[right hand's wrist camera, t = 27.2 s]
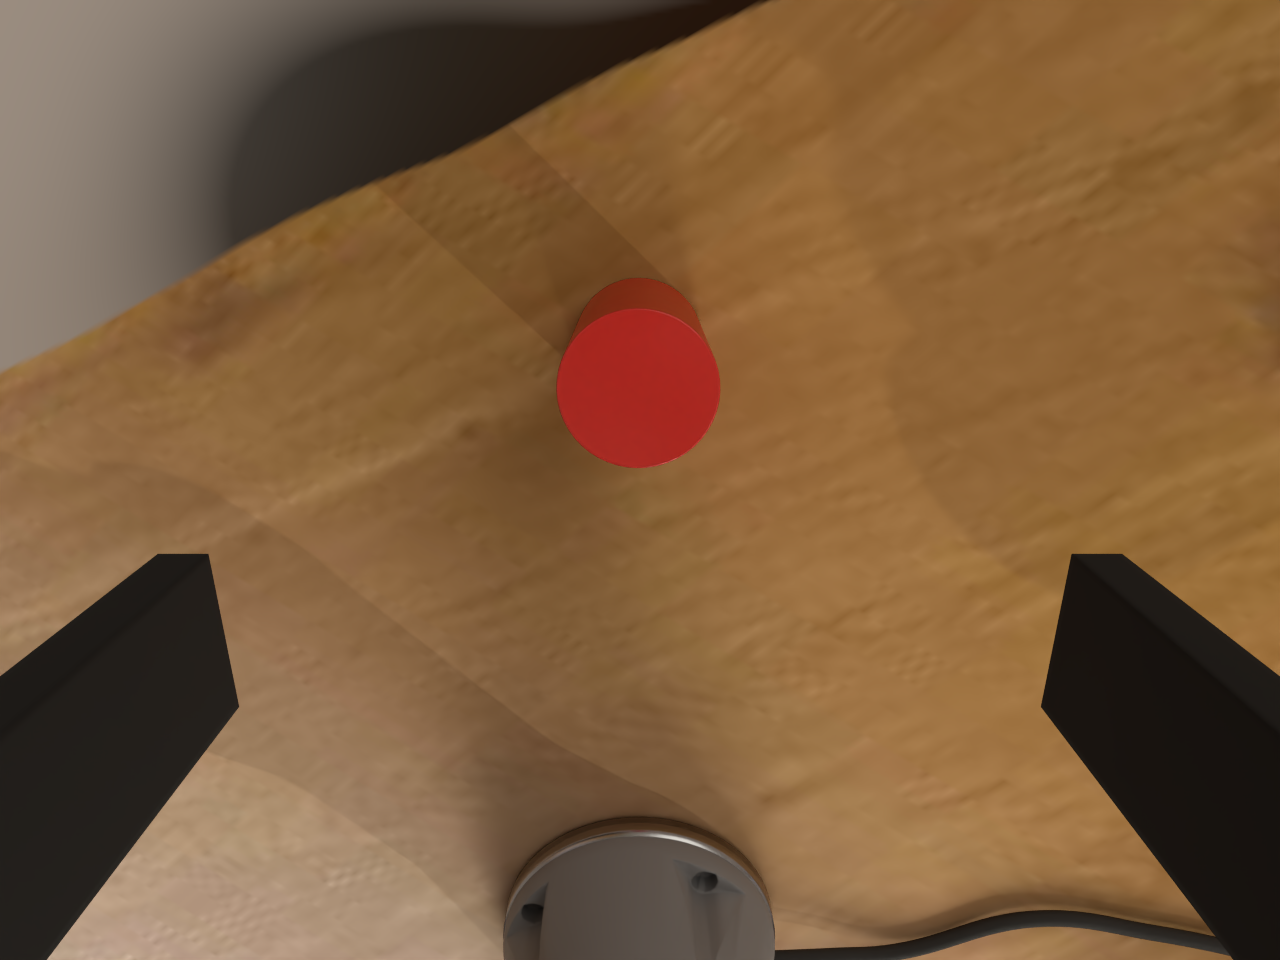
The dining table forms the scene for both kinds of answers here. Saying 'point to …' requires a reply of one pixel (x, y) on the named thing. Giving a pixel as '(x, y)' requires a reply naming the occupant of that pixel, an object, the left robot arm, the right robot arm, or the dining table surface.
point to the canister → (638, 376)
